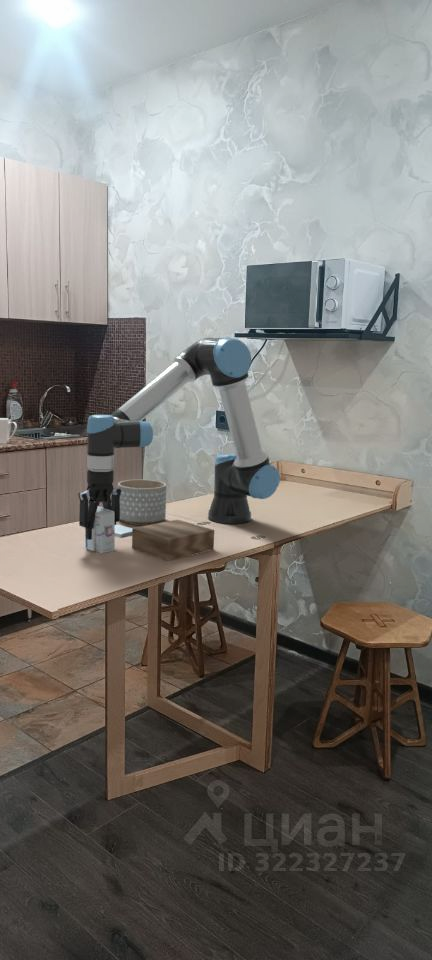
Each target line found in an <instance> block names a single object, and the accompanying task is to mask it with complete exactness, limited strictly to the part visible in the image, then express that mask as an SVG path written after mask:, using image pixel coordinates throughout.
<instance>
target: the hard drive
mask: <svg viewBox="0 0 432 960" xmlns="http://www.w3.org/2000/svg"><path fill="white" fill-rule="evenodd" d="M132 528H133V527H129V526H125V525H121V524H117V523H116V525H115V537H118V538H125V537H129V536H132Z"/></svg>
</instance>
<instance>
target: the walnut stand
mask: <svg viewBox="0 0 432 960" xmlns="http://www.w3.org/2000/svg"><path fill="white" fill-rule="evenodd" d="M131 528H132V535H131V537H132V538H131V539H132V540H131V549H134V550H137V551H140V552H143V553H145V554H148V555H152V556H154V557H156V558H160V559H163V560H165V561H168V562H169V561H173V560H177V559H180V558H181V559H182V558H186V557H188V556H193V555H197V554H196V553H198V554H201V552H202V553H205V551H206V552H209V551H214V550H215V549H214V548H215V547H214V546H215V529H211V528H209V527H205V526H203V525H199V524H195V523H192V522H188V521H184V520H180V519H174V520H169V521H163V522H158V523H155V524H149V525H142V526H141V525H140V526H137V527H131ZM192 554H193V555H192Z"/></svg>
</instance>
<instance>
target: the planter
mask: <svg viewBox="0 0 432 960" xmlns="http://www.w3.org/2000/svg"><path fill="white" fill-rule="evenodd" d="M117 488H118V489H121V494H120V520H121V521H122V522H124V523H125V524H130V525H138V526H141V525H142V526H147V525H152V524H157V523H161V521H162V520H165V519H166V514H167V511H166V510H167V484H166V482H163V481H160V480H154V479H127V480H121V481H119V482H118V483H117Z"/></svg>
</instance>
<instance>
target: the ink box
mask: <svg viewBox="0 0 432 960" xmlns="http://www.w3.org/2000/svg"><path fill="white" fill-rule="evenodd" d="M93 528H95V551H94V552H98V553H100V554H105V553H109V552H115V550H116V549H115V548H116V547H115V545H116V544H115V542H116V541H115V539H116V538H115V537H116V536H115V512H114V511H112V510H109V509H106V508H103V506H100V505H99V506H98V507H97V511H96V513H95V520H94V524H93ZM84 530H86V529H85V528H84ZM84 537H85V536H84ZM85 547H86V548H87V539H86V537H85Z"/></svg>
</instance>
